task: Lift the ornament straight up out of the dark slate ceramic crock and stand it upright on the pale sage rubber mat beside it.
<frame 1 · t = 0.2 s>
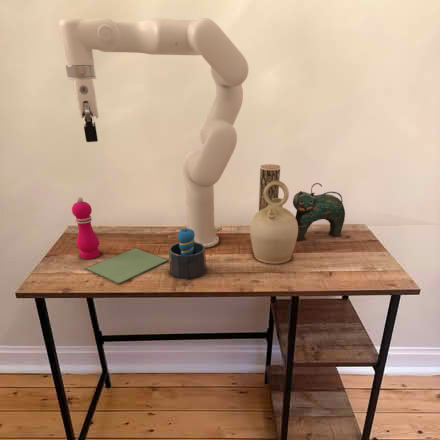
hand: (91, 139, 119), 37 cm above the table, tool pointing down, fingers open, 9 cm apart
crock: (188, 270, 126), on the table
ornament: (188, 271, 126), resting in crock
pepper mill: (90, 255, 137), on the table
mat: (128, 265, 130), on the table
jug: (272, 256, 135), on the table
wooden log: (266, 235, 151), on the table
ceramic cat: (315, 237, 149), on the table
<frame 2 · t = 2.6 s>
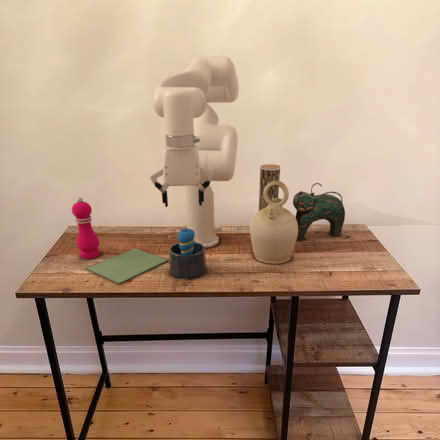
hand: (183, 204, 115), 21 cm above the table, tool pointing down, fingers open, 9 cm apart
nothing on the table moved.
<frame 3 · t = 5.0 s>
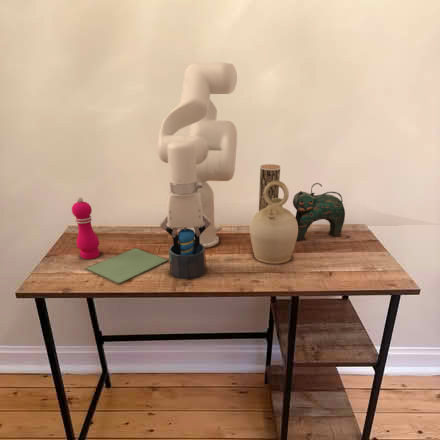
hand: (186, 247, 122), 8 cm above the table, tool pointing down, fingers closed on ornament, 5 cm apart
ornament: (188, 271, 126), resting in crock, touching gripper
everything else where it was.
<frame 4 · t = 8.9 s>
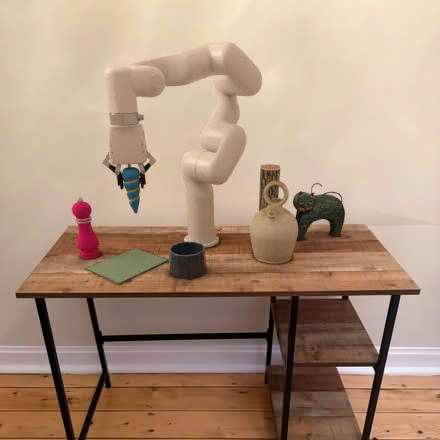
hand: (132, 187, 117), 25 cm above the table, tool pointing down, fingers closed on ornament, 5 cm apart
ornament: (135, 214, 121), point 17 cm above the table, touching gripper
everything else where it was.
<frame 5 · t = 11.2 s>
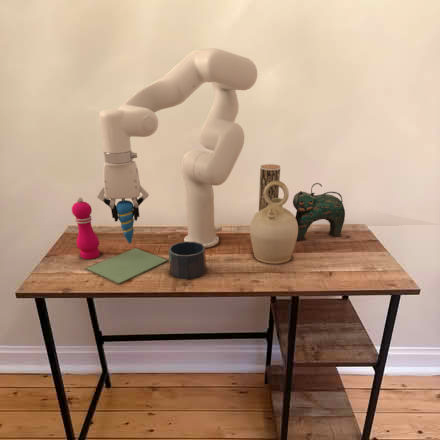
hand: (126, 219, 122), 15 cm above the table, tool pointing down, fingers closed on ornament, 5 cm apart
ornament: (129, 244, 126), point 7 cm above the table, touching gripper
everything else where it was.
when the fingers open (8 cm above the table, at t = 13.3 s): ornament stays where it is, resting on mat.
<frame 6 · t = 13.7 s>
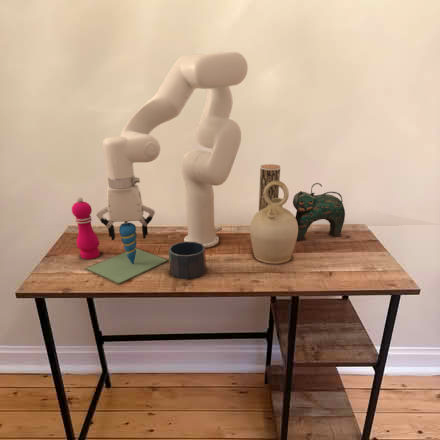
hand: (129, 237, 125), 9 cm above the table, tool pointing down, fingers open, 9 cm apart
ornament: (132, 264, 130), resting on mat
everything else where it was.
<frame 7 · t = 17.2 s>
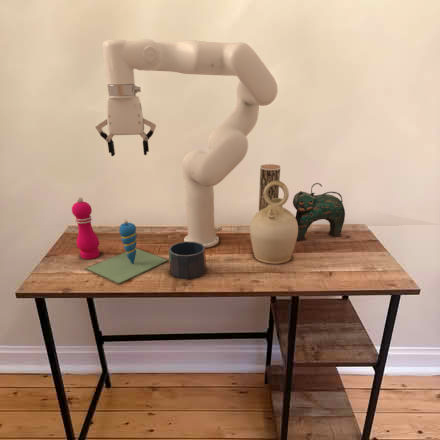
hand: (129, 154, 122), 32 cm above the table, tool pointing down, fingers open, 9 cm apart
nothing on the table moved.
at the end: ornament inside the target area on the mat (1.4 cm from its centre), point 0.2 cm above the mat's base; ornament tilted 0°; the gripper is holding nothing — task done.
